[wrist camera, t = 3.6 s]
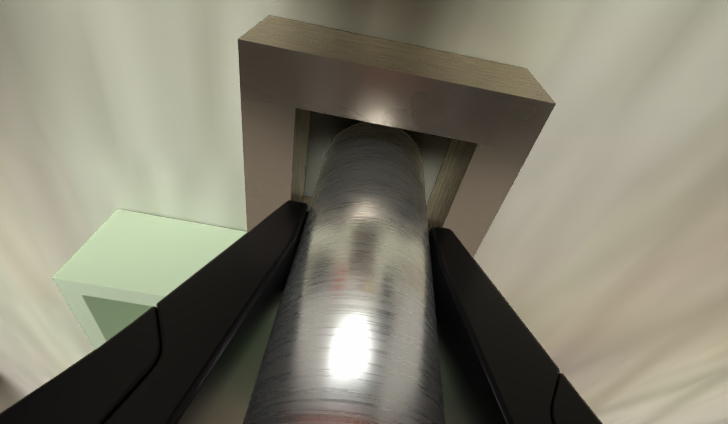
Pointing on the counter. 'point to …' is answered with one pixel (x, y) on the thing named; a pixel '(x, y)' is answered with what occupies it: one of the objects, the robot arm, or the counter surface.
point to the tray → (134, 268)
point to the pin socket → (385, 115)
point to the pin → (357, 296)
